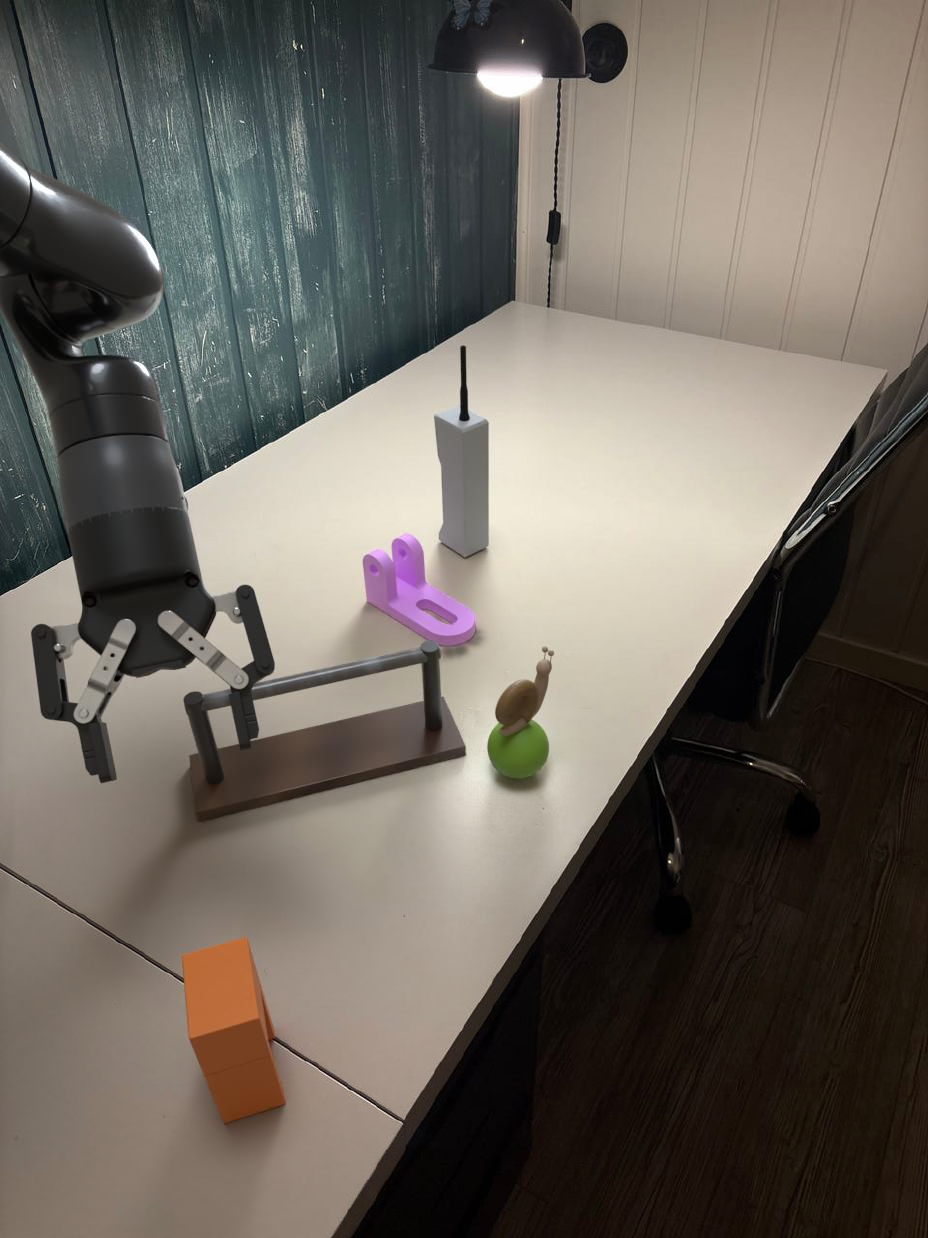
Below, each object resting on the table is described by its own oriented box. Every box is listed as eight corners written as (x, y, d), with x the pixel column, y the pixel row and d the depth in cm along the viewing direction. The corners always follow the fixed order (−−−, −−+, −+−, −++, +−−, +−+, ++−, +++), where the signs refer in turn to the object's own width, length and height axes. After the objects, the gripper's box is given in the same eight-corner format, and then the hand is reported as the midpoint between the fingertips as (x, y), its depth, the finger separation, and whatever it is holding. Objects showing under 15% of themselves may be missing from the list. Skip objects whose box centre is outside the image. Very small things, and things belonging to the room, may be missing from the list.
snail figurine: (567, 762, 83) (575, 662, 75) (519, 801, 79) (521, 700, 72) (523, 731, 86) (526, 632, 78) (474, 768, 82) (473, 668, 75)
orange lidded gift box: (223, 1124, 59) (188, 1039, 52) (214, 1043, 63) (181, 954, 56) (285, 1104, 60) (259, 1018, 53) (273, 1025, 64) (246, 936, 57)
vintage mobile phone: (462, 530, 113) (457, 332, 97) (488, 547, 110) (488, 345, 94) (438, 541, 111) (430, 341, 96) (465, 559, 108) (461, 355, 92)
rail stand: (198, 822, 78) (170, 732, 71) (191, 764, 83) (165, 675, 77) (466, 755, 84) (464, 666, 77) (444, 704, 89) (440, 617, 82)
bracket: (366, 601, 102) (361, 549, 98) (403, 579, 105) (399, 528, 101) (449, 653, 95) (447, 599, 90) (486, 628, 98) (485, 575, 94)
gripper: (-6, 526, 54) (46, 796, 53) (236, 485, 57) (292, 738, 56) (27, 552, 62) (74, 790, 60) (241, 514, 65) (289, 739, 63)
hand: (179, 765), depth 58 cm, fingers open, 8 cm apart
